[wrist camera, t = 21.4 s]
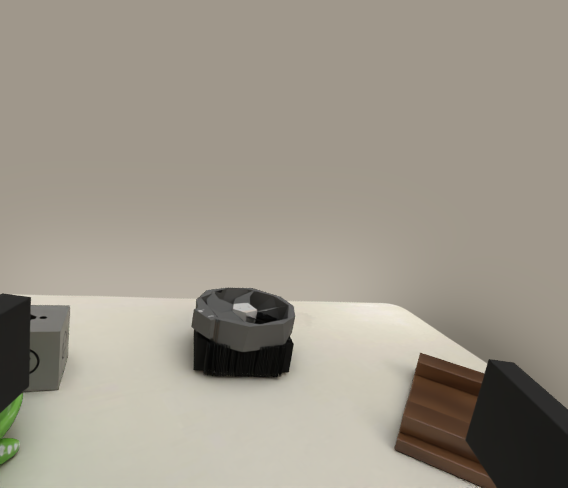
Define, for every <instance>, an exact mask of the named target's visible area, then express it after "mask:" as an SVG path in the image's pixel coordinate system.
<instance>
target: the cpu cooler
mask: <svg viewBox="0 0 568 488" xmlns="http://www.w3.org/2000/svg"><path fill="white" fill-rule="evenodd" d="M294 319H295V312H294V307H293V305H291V304H290V303H288V302H287V301H286V300H284V299H283V298H281V297H279V296H276V295H273V294H269V293H266V292H263V291H260V290H257V289H253V288H221V289H213V290H207V291H205V292H204V293H203V294H202V295H201V296H200V297H199V298H197V299H196V309H194V313H193V320H192V328H194V370H203V371H204V374H205V373H206V372H207V376H208V371H209V373H211V372H212V376H213V372H215V376H216V373H217V376H218V375H220V376H221V372H222V376H224V374H225V376H226V373H227V372H228V376H229V374H230V376H231V373H232V376H233V372H234V374H235V376H239V375H240V376H243V375H245V377H246V376H247V375H248V377H249V374H250V375H251V377H252V374H253V376H254V377H255V375H256V377H257V376H259V377H260V375H261V377H263V375H264V377H265V375H267V377H269V376H272V374H273V377H274V376H275V374H276V377H277V376H278V374H279V377H280V376H281V374H282V372H289V367H290V362H291V356H292V351H293V345H294V344H293V342H292V339H291V338H290V335H291V333H292V329H293V324H294Z"/></svg>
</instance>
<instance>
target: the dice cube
mask: <svg viewBox="0 0 568 488" xmlns="http://www.w3.org/2000/svg"><path fill="white" fill-rule="evenodd" d="M69 319H70V306H61V305H31V314H30V370H29V387H28V388H27V389H26V390H25V391H24V392H26V391H43V390H58V388H59V385H60V382H61V378H62V375H63V371H64V368H65V365H66V361H67V358H68V340H69Z"/></svg>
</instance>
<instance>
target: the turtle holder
mask: <svg viewBox="0 0 568 488" xmlns="http://www.w3.org/2000/svg"><path fill="white" fill-rule="evenodd" d="M22 399H23V393H22V394H20V395H19V396H18V397H17V398H16V399H15V400H14V401H13V402H12V403H11V404H10V405H9V406H8V407H7V408H6V409H4V410H3V411H2V412H1V413H0V465H1V464H2V463H4V462H5V461H7V460H8V459H10V458H11V457H13V456H14V455H15V454H16V452H17V451H18V450H19V447H20V443H19V440H17V439H13V438H3V439H1V438H2V437H3V436H4V435H5V433H6V432H7V431H8V429H9V428H10V427H11V425H12V423H13V422H14V420H15V418H16V416H17V414H18V411H19V409H20V406H21V403H22Z"/></svg>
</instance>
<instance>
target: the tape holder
mask: <svg viewBox="0 0 568 488" xmlns="http://www.w3.org/2000/svg"><path fill="white" fill-rule="evenodd" d="M483 378H484V373H481V372H478V371H475V370H472V369H469V368H466V367H463V366H460V365H456V364H453V363H450V362H447V361H444V360H441V359H438V358H435V357H432V356H429V355H426V354H423V353H420V355H419V359H418V363H417V367H416V370H415V374H414V378H413V382H412V385H411V389H410V393H409V397H408V400H407V403H406V406H405V410H404V414H403V418H402V422H401V425H400V429H399V433H398V437H397V441H396V445H395V450H397V451H399V452H401V453H404V454H406V455H408V456H411V457H413V458H415V459H418V460H420V461H423V462H425V463H427V464H430V465H432V466H434V467H437V468H439V469H441V470H444V471H446V472H448V473H451V474H453V475H455V476H458V477H460V478H462V479H465V480H467V481H469V482H472V483H474V484H476V485H479V486H481V487H484V488H497V487H496V486H495V484H494V483H493V481H492V480H491V478H490V477H489V475H488V474H487V472H486V471H485V469H484V468H483V466H482V465H481V463H480V462H479V460H478V459H477V457H476V456H475V454H474V453H473V451H472V450H471V448H470V447H469V445H468V444H467V442H466V441H465V439H466V436H467V432H468V429H469V425H470V422H471V419H472V415H473V412H474V408H475V405H476V401H477V398H478V395H479V391H480V388H481V384H482V381H483Z"/></svg>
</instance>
